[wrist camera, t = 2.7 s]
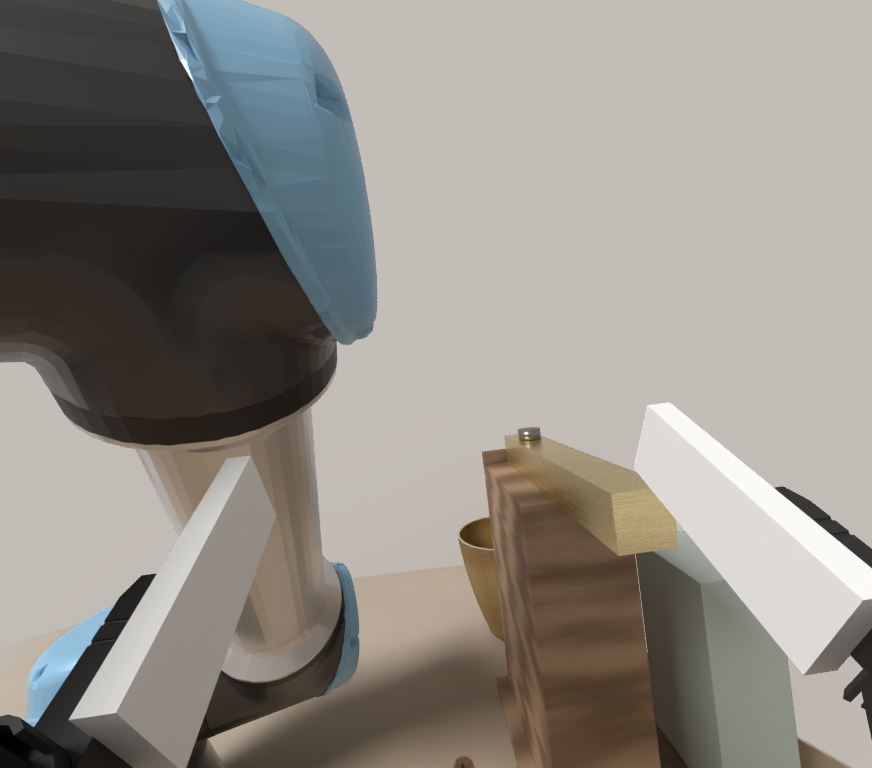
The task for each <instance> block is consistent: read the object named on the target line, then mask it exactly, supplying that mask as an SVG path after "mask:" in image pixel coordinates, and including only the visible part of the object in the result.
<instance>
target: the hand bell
mask: <svg viewBox="0 0 872 768" xmlns="http://www.w3.org/2000/svg"><path fill="white" fill-rule="evenodd" d="M454 768H474V766H473V763H472V761H471V759H470V758H468V757H465V756H463V757H459V758H458V759H456V762H455V764H454Z"/></svg>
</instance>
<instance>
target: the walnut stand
mask: <svg viewBox="0 0 872 768" xmlns="http://www.w3.org/2000/svg"><path fill="white" fill-rule="evenodd" d="M482 456H483V464H484V472H485V480H486V489H487V497H488V506H489V515H490V523H491V532H492V540H493V549H494V557H495V565H496V574H497V582H498V591H499V599H500V608H501V616H502V625H503V633H504V641H505V650H506V658H507V667H508V675H509V676H506V677H499V678H496V680H497V688H498V692H499V696H500V700H501V704H502V708H503V711H504V715H505V719H506V723H507V726H508V730H509V734H510V738H511V741H512V745H513V749H514V753H515V757H516V760H517V764H518V768H661V765H660V757H659V748H658V740H657V732H656V724H655V715H654V707H653V699H652V691H651V682H650V674H649V666H648V658H647V649H646V641H645V633H644V625H643V617H642V608H641V600H640V592H639V584H638V575H637V567H636V559H635V554H629V555H623V556H618V555H617V554H616V553H614V552H613V551H612V550H611V549H610V548H608V547H607V546H606V545H605V544H604V543H602V542H601V541H600V540H599V539H598V538H596V537H595V536H594V535H593V534H592V533H590V532H589V531H588V530H587V529H586V528H584V527H583V526H582V525H581V524H580V523H578V522H577V521H576V520H575V519H574V518H572V517H571V516H570V515H569V514H568V513H566V512H565V511H564V510H563V509H562V508H560V507H559V506H558V505H557V504H556V503H554V502H553V501H552V500H551V499H550V498H548V497H547V496H546V495H545V494H544V493H542V492H541V491H540V490H539V489H538V488H536V487H535V486H534V485H533V484H532V483H530V482H529V481H528V480H527V479H526V478H524V477H523V476H522V475H521V474H520V473H518V472H517V471H516V470H515V469H514V468H512V467H511V466H510V465H509V464H508V462H507V453H506V449H501V450H493V451H485V452H482Z"/></svg>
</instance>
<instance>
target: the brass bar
mask: <svg viewBox="0 0 872 768" xmlns="http://www.w3.org/2000/svg"><path fill="white" fill-rule="evenodd" d="M505 445H506V453H507V462H508V464H509V465H510V466H511V467H512V468H514V469H515V470H516V471H517V472H518V473H520V474H521V475H522V476H523V477H524V478H526V479H527V480H528V481H529V482H530V483H532V484H533V485H534V486H535V487H536V488H538V489H539V490H540V491H541V492H542V493H544V494H545V495H546V496H547V497H548V498H550V499H551V500H552V501H553V502H554V503H556V504H557V505H558V506H559V507H560V508H562V509H563V510H564V511H565V512H566V513H568V514H569V515H570V516H571V517H572V518H574V519H575V520H576V521H577V522H578V523H580V524H581V525H582V526H583V527H584V528H586V529H587V530H588V531H589V532H590V533H592V534H593V535H594V536H595V537H596V538H598V539H599V540H600V541H601V542H602V543H604V544H605V545H606V546H607V547H608V548H610V549H611V550H612V551H613V552H614V553H616V554H617V555H618V556H623V555H629V554H636V553H643V552H650V551H657V550H664V549H671V548H678V547H679V546H678V538H677V530H676V522H675V518H674V517H673V516H672V514H671V513H670V512H669V511H668V509H667V508H666V507H665V506H664V505H663V503H662V502H661V501H660V500H659V498H658V497H657V496H656V495H655V494H654V492H653V491H652V490H651V489H650V487H649V486H648V485H647V484H646V483H645V481H644V480H643V479H642V478H641V476H640V475H639V474H638V473H636V472H634V471H631V470H628V469H626V468H623V467H620V466H618V465H615V464H613V463H610V462H608V461H605V460H602V459H600V458H597V457H595V456H592V455H589V454H586V453H584V452H581V451H579V450H576V449H573V448H571V447H568V446H566V445H563V444H561V443H557V442H555V441H553V440H550V439H547V438H545V437H542V436H541V435H540V428H538V427H529V428H522V429H519V430H518V434H516V435H509V436H505Z"/></svg>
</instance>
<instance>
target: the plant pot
mask: <svg viewBox="0 0 872 768" xmlns="http://www.w3.org/2000/svg"><path fill="white" fill-rule="evenodd" d="M458 539H459V544H460V548H461V552H462V556H463V559H464V563H465V567H466V570H467V573H468V576H469V579H470V582H471V585H472V588H473V591H474V593H475V596H476V599H477V601H478V604H479V606H480V608H481V611H482V613H483V615H484V617H485V619H486V621H487V623H488V625H489V627H490V629H491V631H492V633H493V634H494V635H495V636H496V637H498V638H500V639H502V640H504V633H503V625H502V616H501V608H500V599H499V591H498V582H497V574H496V565H495V557H494V549H493V540H492V532H491V523H490V516H489V517H484V518H481V519H477V520H474V521H471V522H469V523H467V524H466V525H464V526H463V527H462V528H460V530H459V531H458Z"/></svg>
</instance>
